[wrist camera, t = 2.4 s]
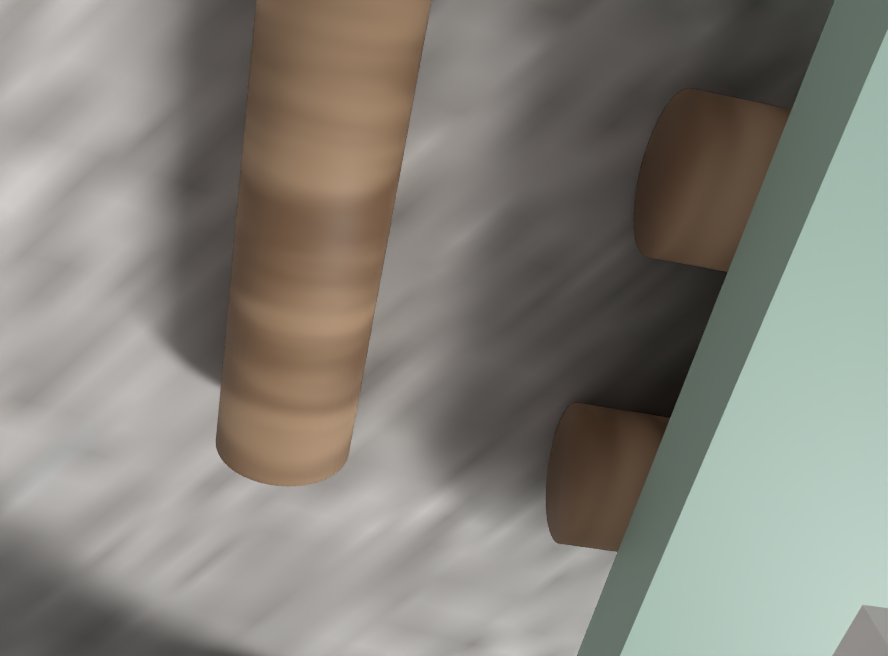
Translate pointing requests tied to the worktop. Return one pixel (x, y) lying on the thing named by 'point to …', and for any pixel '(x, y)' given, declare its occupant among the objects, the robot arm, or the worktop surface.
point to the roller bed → (672, 239)
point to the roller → (313, 227)
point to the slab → (780, 401)
